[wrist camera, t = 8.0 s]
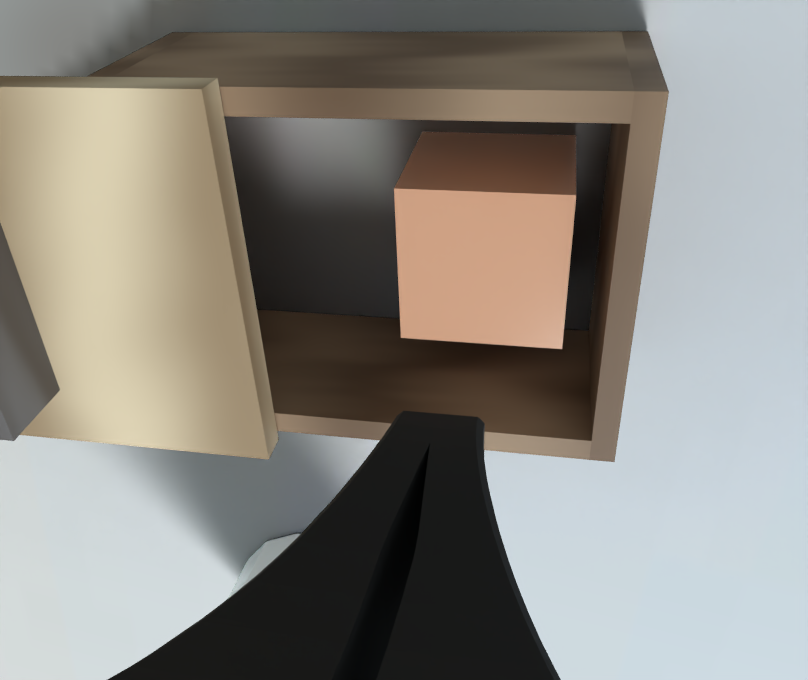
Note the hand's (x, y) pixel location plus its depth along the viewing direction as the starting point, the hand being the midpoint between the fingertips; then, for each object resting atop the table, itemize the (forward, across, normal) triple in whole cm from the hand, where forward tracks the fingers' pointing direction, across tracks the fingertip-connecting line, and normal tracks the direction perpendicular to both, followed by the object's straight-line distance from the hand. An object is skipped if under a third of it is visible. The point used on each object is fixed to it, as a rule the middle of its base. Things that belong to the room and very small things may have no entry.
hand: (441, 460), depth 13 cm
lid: (+5, +11, 0) cm, 13 cm away
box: (+10, +2, 0) cm, 11 cm away
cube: (+10, 0, 0) cm, 10 cm away
